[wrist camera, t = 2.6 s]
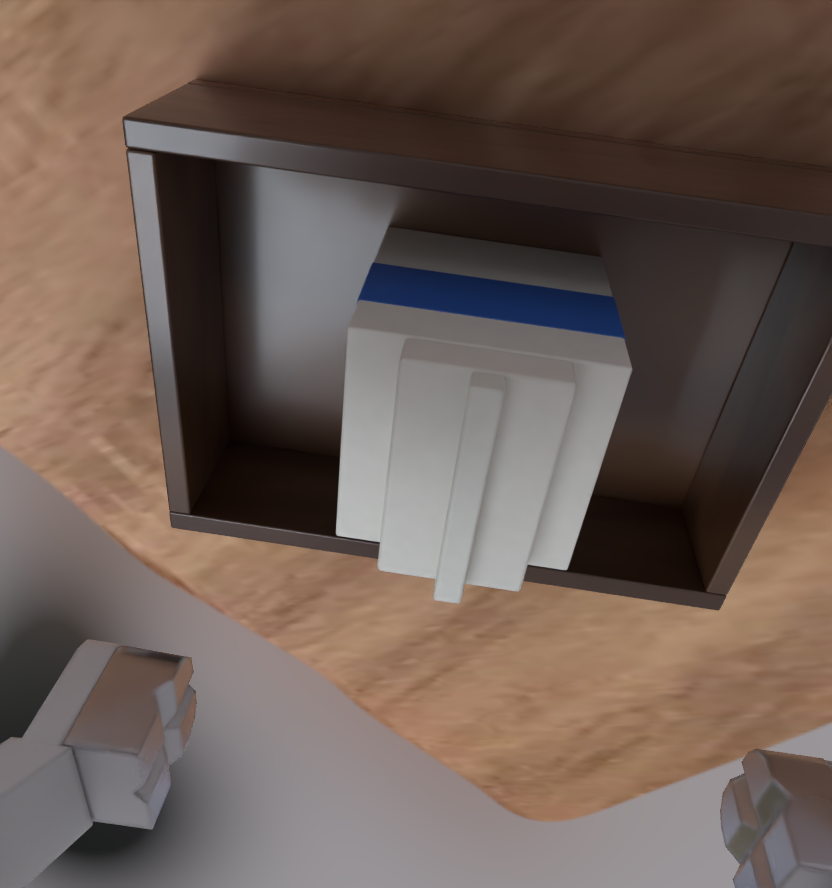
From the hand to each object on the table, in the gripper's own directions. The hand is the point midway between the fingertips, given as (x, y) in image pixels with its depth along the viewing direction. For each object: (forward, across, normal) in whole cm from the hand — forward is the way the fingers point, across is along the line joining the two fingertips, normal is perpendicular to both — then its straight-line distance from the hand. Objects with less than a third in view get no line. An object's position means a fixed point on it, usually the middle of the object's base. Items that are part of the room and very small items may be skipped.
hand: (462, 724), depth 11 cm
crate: (+12, 0, -1) cm, 12 cm away
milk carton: (+12, 0, -1) cm, 12 cm away
